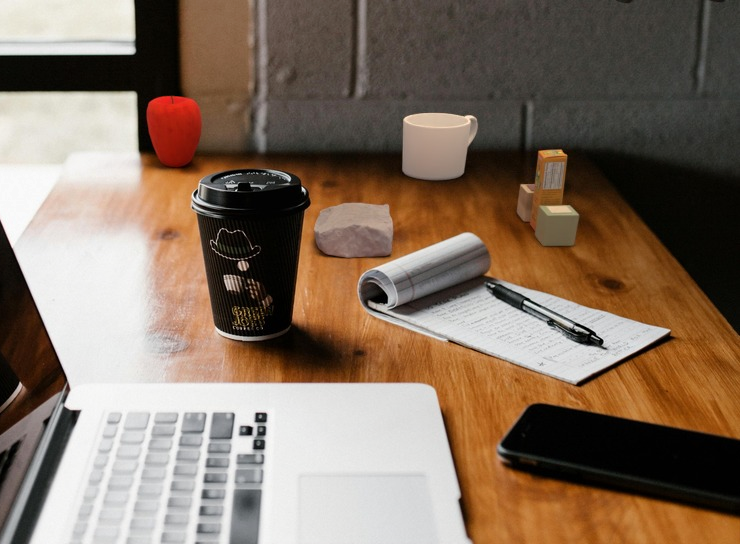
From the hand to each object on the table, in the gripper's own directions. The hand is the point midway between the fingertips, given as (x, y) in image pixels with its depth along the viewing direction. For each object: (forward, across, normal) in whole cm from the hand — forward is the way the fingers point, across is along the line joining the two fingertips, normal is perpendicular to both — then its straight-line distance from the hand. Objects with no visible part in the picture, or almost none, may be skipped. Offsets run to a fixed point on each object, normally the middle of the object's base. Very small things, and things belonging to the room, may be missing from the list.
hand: (669, 1), depth 90 cm
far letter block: (+28, -6, +16) cm, 33 cm away
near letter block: (+28, -6, +6) cm, 30 cm away
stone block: (+28, -32, +7) cm, 43 cm away
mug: (+28, -15, +40) cm, 51 cm away
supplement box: (+28, -6, +11) cm, 31 cm away
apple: (+28, -58, +46) cm, 79 cm away
